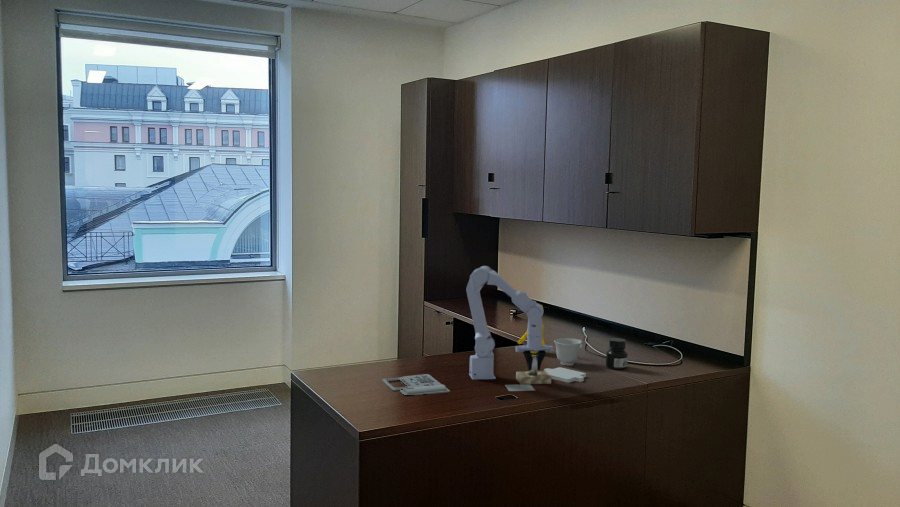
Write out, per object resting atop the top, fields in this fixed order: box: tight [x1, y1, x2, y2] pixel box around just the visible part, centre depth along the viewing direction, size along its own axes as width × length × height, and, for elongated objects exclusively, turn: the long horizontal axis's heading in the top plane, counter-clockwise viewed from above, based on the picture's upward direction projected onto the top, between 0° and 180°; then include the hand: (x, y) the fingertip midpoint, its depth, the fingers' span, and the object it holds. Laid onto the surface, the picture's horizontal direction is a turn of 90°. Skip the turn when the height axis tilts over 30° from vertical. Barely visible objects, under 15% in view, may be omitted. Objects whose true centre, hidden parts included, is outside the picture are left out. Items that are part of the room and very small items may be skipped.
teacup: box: [553, 337, 584, 366], centre depth 305 cm, size 12×15×10 cm
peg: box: [529, 354, 539, 376], centre depth 275 cm, size 3×3×8 cm
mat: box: [504, 384, 536, 392], centre depth 267 cm, size 10×8×1 cm
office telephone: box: [381, 373, 451, 396], centre depth 268 cm, size 23×3×20 cm
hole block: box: [515, 370, 552, 385], centre depth 276 cm, size 12×8×3 cm, turn 98°
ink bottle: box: [605, 337, 629, 371], centre depth 299 cm, size 10×9×12 cm
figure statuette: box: [517, 304, 546, 354], centre depth 323 cm, size 18×8×22 cm, turn 42°
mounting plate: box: [543, 366, 587, 384], centre depth 284 cm, size 18×13×2 cm
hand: (533, 369), depth 276 cm, fingers closed on peg, 3 cm apart
